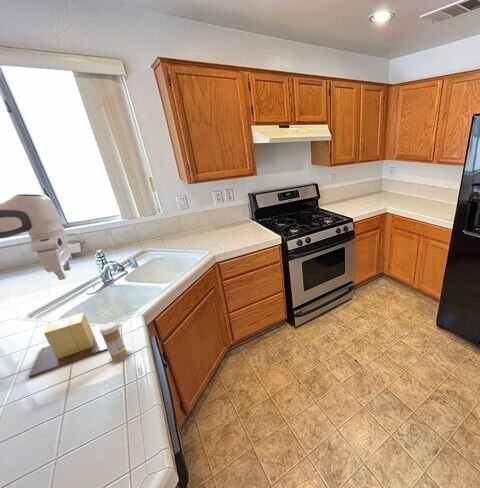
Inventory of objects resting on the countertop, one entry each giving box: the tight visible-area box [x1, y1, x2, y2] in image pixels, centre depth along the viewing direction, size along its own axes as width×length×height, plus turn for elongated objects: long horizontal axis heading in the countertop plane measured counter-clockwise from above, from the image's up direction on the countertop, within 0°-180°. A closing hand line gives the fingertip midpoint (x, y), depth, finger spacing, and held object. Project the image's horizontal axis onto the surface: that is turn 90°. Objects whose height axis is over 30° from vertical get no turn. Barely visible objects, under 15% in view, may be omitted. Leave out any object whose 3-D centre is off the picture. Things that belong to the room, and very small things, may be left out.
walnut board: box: [28, 329, 108, 379], centre depth 96 cm, size 22×16×1 cm
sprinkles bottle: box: [98, 321, 129, 363], centre depth 88 cm, size 5×5×13 cm
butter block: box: [43, 315, 80, 359], centre depth 93 cm, size 6×7×11 cm
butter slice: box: [68, 311, 94, 351], centre depth 96 cm, size 3×8×11 cm, turn 35°
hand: (65, 274), depth 97 cm, fingers open, 8 cm apart
